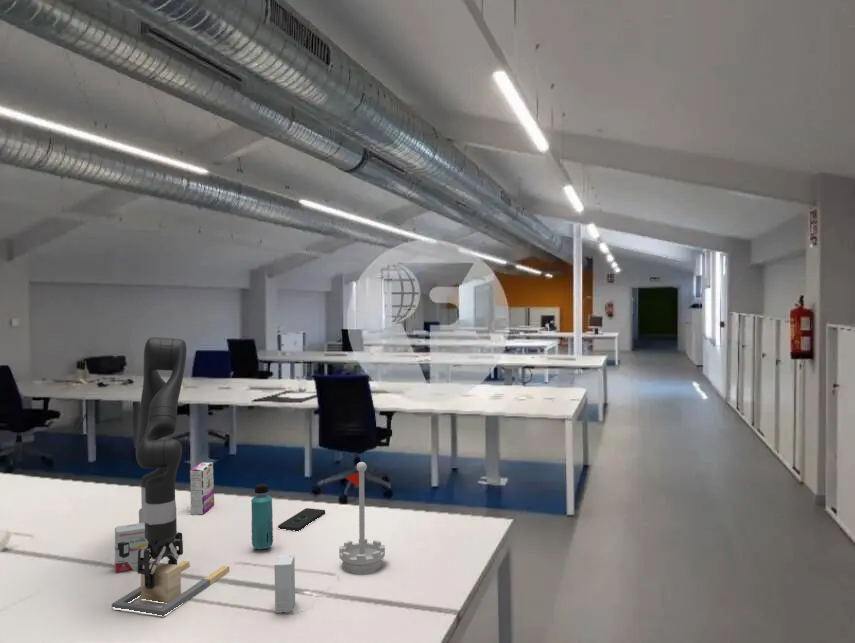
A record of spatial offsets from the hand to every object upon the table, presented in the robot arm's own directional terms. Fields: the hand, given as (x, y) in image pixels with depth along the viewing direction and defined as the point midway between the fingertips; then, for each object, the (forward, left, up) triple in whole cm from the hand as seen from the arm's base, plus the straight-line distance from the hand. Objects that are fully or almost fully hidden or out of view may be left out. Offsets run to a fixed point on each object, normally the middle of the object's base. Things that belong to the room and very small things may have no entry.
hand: (161, 581), depth 162 cm
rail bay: (0, +6, -4) cm, 8 cm away
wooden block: (0, 0, -5) cm, 5 cm away
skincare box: (+33, +4, -5) cm, 33 cm away
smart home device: (+8, +63, -5) cm, 64 cm away
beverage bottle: (+8, +36, -5) cm, 37 cm away
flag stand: (+42, +33, -5) cm, 54 cm away
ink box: (-21, +14, -5) cm, 26 cm away
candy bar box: (-33, +64, -5) cm, 72 cm away
